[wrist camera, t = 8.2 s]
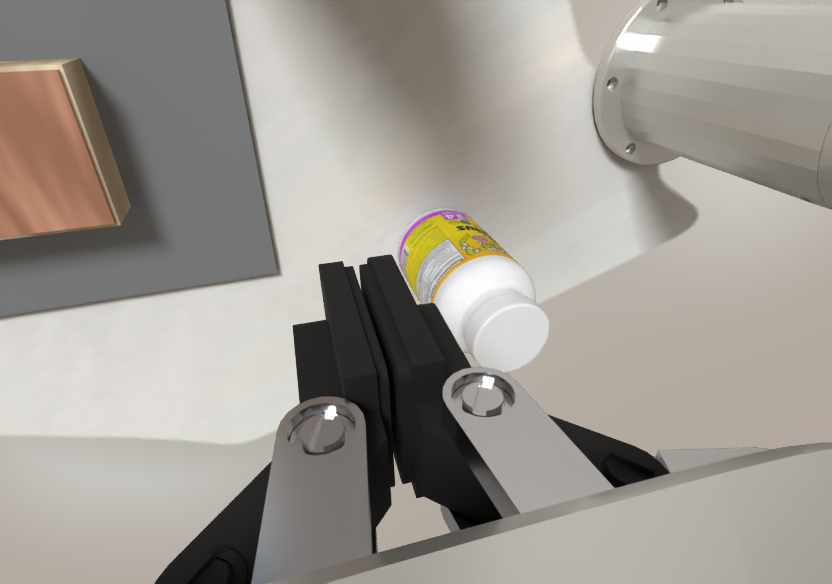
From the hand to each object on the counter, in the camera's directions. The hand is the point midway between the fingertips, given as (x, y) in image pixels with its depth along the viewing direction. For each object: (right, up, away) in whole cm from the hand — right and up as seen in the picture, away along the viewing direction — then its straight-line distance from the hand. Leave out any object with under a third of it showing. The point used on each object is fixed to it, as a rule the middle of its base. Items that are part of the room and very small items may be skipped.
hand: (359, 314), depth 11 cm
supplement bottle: (+3, +4, +26) cm, 27 cm away
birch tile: (-15, +8, +14) cm, 22 cm away
